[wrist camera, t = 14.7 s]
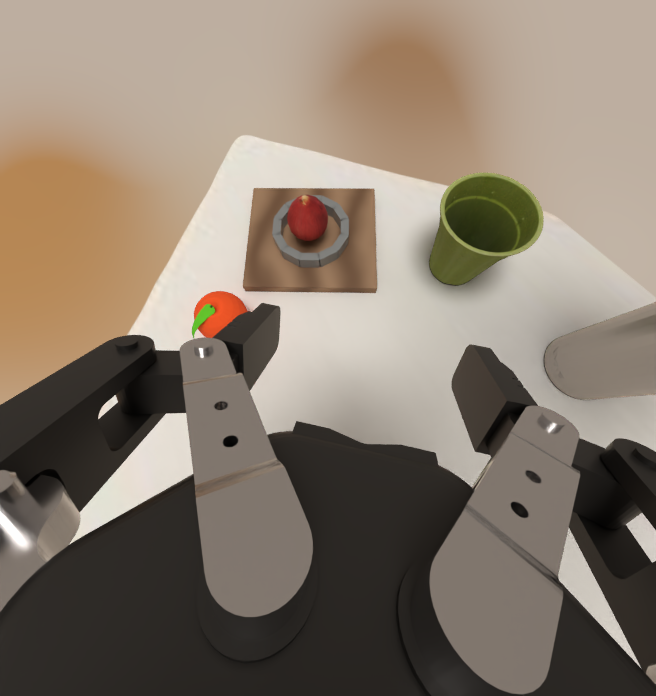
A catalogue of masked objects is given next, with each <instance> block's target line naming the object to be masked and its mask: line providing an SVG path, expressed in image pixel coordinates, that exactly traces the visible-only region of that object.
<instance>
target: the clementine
mask: <svg viewBox="0 0 656 696" xmlns="http://www.w3.org/2000/svg"><path fill="white" fill-rule="evenodd" d="M245 312H247V309H246V307H245V305H244V303H243V302H242V301H241V300H240V299H239V298H238V297H236V296H235V295H233V294H231V293H228V292H223V291H216V292H211V293H209V294H207V295H205V296H204V297H203V298H201V300H200V301H199V302H198V303H197V305H196V307H195V311H194V320H195V321H194V324H193V327H192V335H193V338H194V334H195V331H196V330H197V328H198V330H199V331H200V332H201V333H202V334H203V335H204V336H205V337H207V338H212V337H214V336H215V335H216V334H217V333H218V332H219V331H221V330H222V329H223V328H224V327H225V326H227V325H228V324H229V323H230V322H232V320H233V319H234V318H236V317H237V316H238V315H240V314H243V313H245Z"/></svg>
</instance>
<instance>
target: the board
mask: <svg viewBox="0 0 656 696" xmlns="http://www.w3.org/2000/svg"><path fill="white" fill-rule="evenodd" d="M302 195H321V196H324V197H326V198H329V199H331V200H333V201H335V202H337V203H338V204H340V206H341V207H342V209H343V210H344V212H345V213H346V215H347V216H348V218H349V238H348V245H347V246H346V248H345V249H344V251H343V252H342V254H341V255H340V257H339V258H338V259H337V260H335V261H333V262H331V263H329V264H327V265H325V266H323V267H320V268H305V267H301V266H300V267H299V266H297V265H295V264H293V263H291V262H289V261H287V260H286V259H284V258H283V256H282V255H281V253H280V251H279V250H278V248H277V246H276V244H275V242H274V239H273V236H272V232H273V220H274V217H275V215H276V214H277V213H278V211H279V210H280V209H281V208H282V206H283V205H284V204H285V203H286V202H289V201H291V200H293V199H295V198H297V197H299V196H302ZM339 235H340V227H339V226H338V224H337V223H336V221H335V220H334V218H333V217H331V216H329V215H328V224H327V228H326V230H325V232H324V234H323V235H322V236H320V237H319V238H318V239H316V240H312V241H304V240H301V239H298V238H297V237H296V236H295V235H294V234H293V233H292V232H291V230H290V227H289V225H288V223H287V225H286V226H285V227H284V232H283V238H284V240H285V242H286V244H287V245H288V246H290V247H292V248H293V249H295V250H297V251H299V252H301V253H319V252H321V251H323V250H325V249H327V248H329V247H331V246H333V244H334V243H335V241H336V240H337V238H338V237H339ZM243 288H244V289H245V291H276V292H358V293H376V290H377V270H376V232H375V195H374V189H307V188H254V191H253V200H252V209H251V218H250V226H249V235H248V244H247V253H246V262H245V271H244V280H243Z"/></svg>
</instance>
